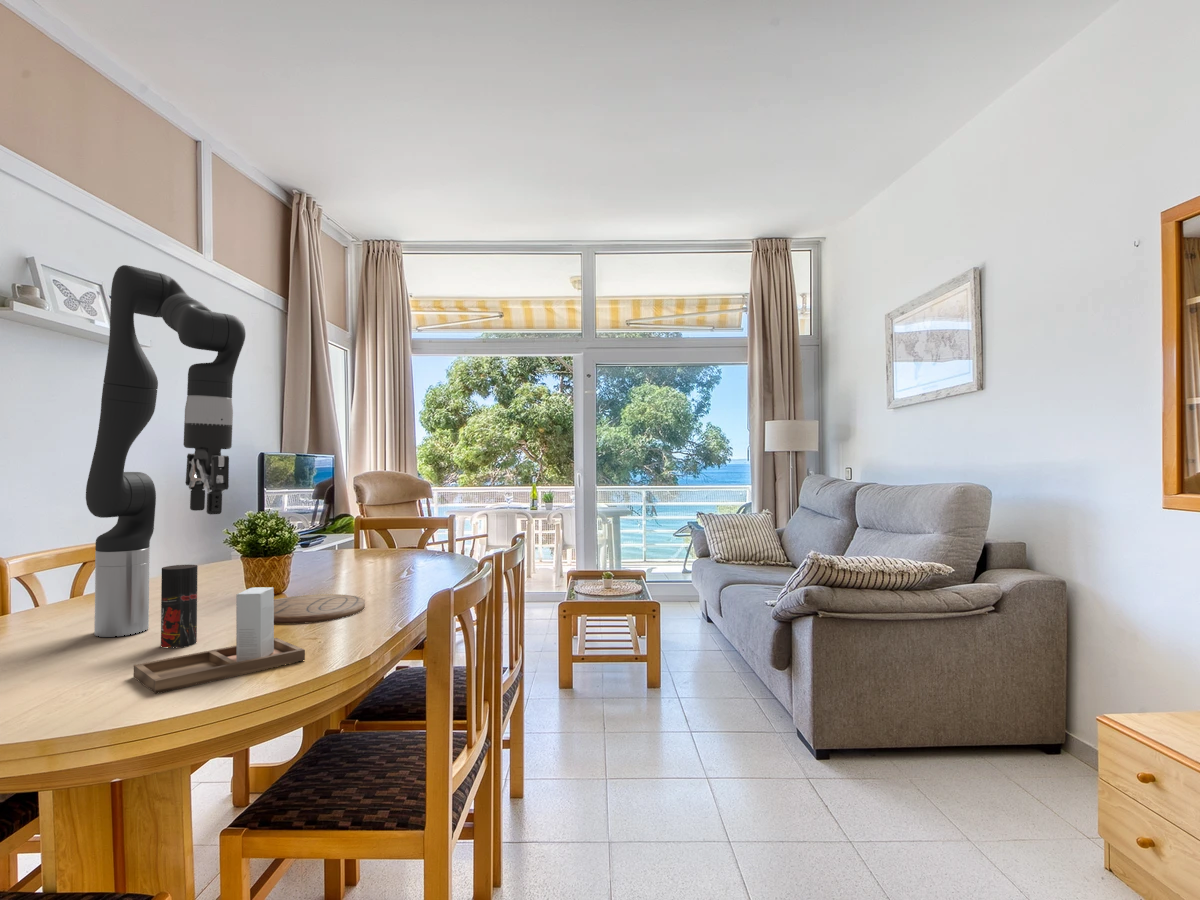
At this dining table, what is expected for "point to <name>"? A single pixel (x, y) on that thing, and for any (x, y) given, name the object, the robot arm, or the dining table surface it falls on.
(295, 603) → the trivet
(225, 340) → the robot arm
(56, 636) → the dining table surface
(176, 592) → the deodorant
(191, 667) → the two-section desk tray
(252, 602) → the skincare box
